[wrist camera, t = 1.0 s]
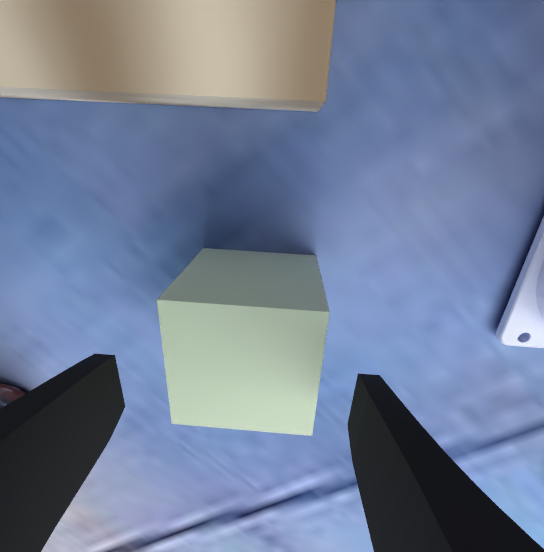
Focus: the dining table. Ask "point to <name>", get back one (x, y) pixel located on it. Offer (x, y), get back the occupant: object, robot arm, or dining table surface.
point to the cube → (245, 341)
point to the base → (168, 52)
